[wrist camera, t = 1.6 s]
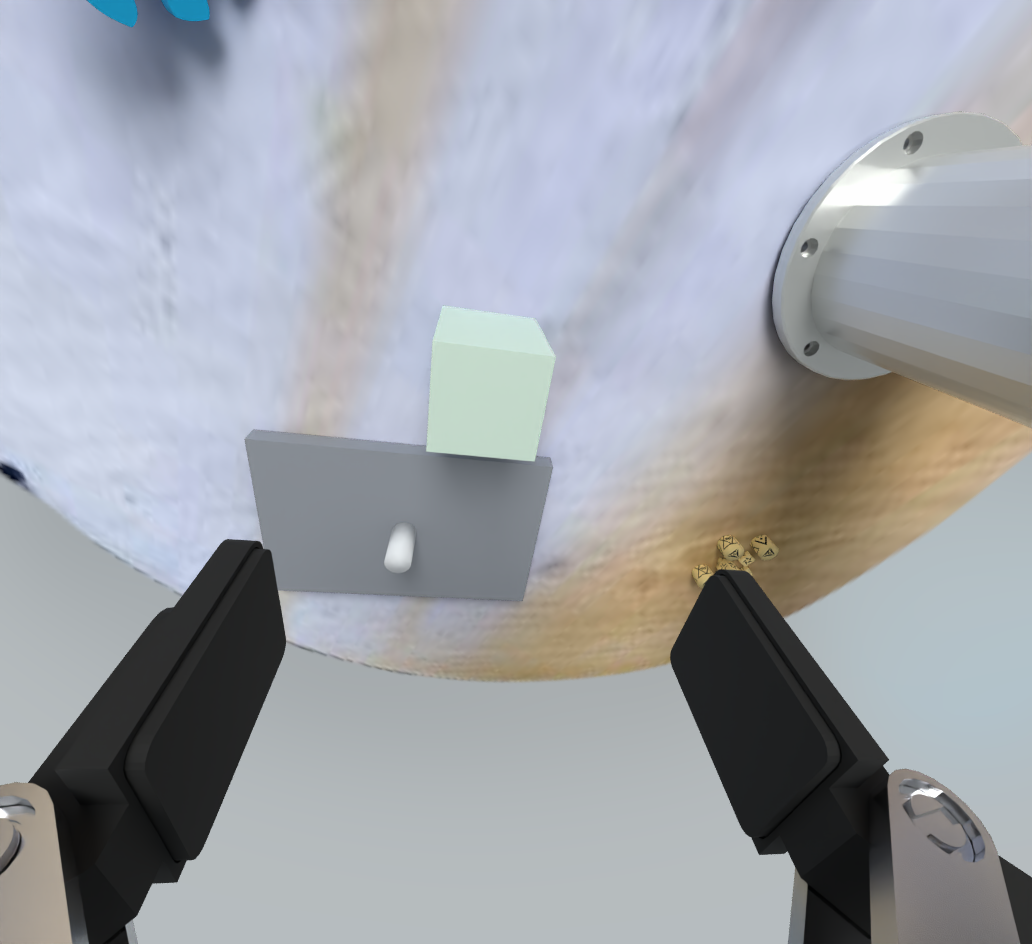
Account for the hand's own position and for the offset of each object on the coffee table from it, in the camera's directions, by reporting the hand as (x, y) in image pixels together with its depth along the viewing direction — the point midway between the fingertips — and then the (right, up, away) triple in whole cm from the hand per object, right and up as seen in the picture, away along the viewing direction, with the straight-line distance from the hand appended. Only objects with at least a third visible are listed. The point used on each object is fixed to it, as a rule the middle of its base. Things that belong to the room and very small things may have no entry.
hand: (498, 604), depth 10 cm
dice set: (+17, -3, +26) cm, 31 cm away
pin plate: (-7, 0, +21) cm, 22 cm away
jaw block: (-1, +9, +15) cm, 18 cm away
